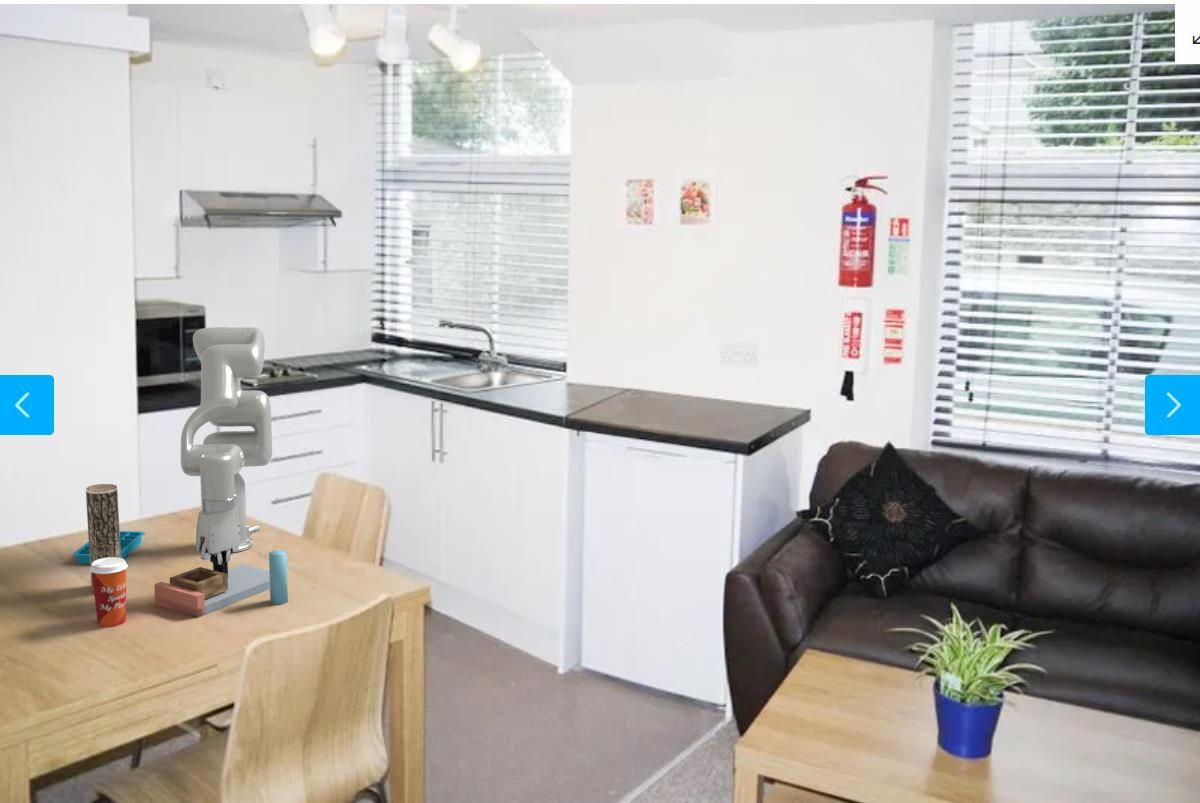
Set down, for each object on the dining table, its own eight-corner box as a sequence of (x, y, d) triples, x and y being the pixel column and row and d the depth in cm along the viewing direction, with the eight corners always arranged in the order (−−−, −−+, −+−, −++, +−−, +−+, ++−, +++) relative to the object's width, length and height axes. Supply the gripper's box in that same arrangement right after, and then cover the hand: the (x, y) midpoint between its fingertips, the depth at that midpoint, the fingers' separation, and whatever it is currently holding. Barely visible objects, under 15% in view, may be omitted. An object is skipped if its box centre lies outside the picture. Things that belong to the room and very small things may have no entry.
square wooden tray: (200, 582, 264) (200, 566, 264) (227, 590, 260) (227, 574, 259) (170, 594, 257) (169, 577, 256) (197, 602, 252) (197, 585, 252)
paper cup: (106, 631, 240) (103, 570, 238) (85, 623, 244) (81, 563, 242) (138, 620, 247) (135, 560, 244) (117, 612, 251) (114, 553, 248)
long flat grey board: (243, 571, 280) (242, 552, 279) (284, 582, 273) (284, 563, 272) (155, 604, 256) (154, 584, 255) (198, 617, 250) (197, 596, 249)
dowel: (279, 597, 263) (277, 549, 261) (291, 600, 262) (290, 552, 259) (266, 602, 260) (265, 553, 258) (279, 605, 258) (278, 556, 256)
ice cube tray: (147, 542, 301) (146, 531, 300) (118, 567, 281) (117, 555, 280) (103, 541, 300) (102, 530, 300) (71, 566, 281) (70, 554, 280)
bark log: (127, 584, 268) (122, 484, 264) (112, 594, 262) (107, 492, 257) (101, 582, 269) (95, 483, 264) (85, 592, 262) (79, 490, 258)
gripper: (230, 494, 268) (233, 566, 272) (181, 509, 255) (184, 584, 259) (253, 499, 265) (255, 571, 268) (205, 514, 252) (207, 590, 256)
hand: (220, 577), depth 264 cm, fingers closed
